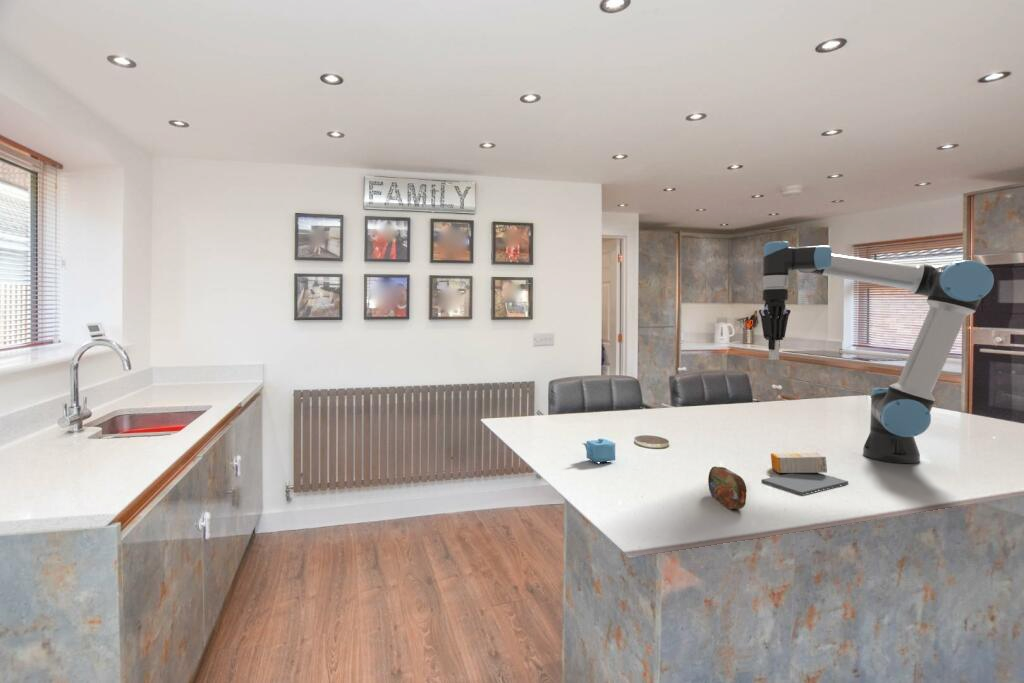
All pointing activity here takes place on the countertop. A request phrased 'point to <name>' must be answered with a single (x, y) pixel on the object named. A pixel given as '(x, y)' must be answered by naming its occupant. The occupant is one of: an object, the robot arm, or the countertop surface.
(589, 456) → the teapot
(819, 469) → the supplement box
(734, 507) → the multicoloured flat oval slab
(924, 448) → the countertop surface
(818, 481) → the mat
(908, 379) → the robot arm
